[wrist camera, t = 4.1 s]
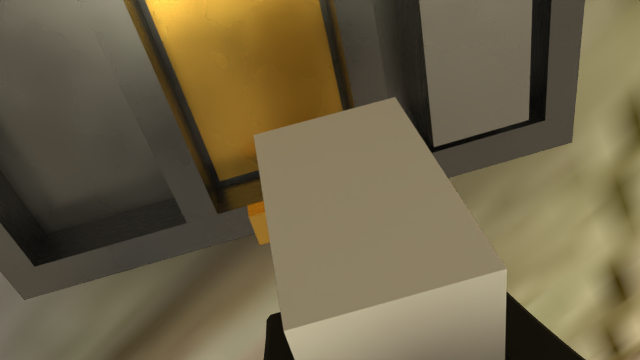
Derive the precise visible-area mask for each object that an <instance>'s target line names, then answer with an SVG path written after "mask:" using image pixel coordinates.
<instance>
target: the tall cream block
mask: <svg viewBox="0 0 640 360" xmlns="http://www.w3.org/2000/svg"><path fill="white" fill-rule="evenodd" d="M254 142H255V148H256V155H257V161H258V168H259V174H260V181H261V187H262V194H263V200H264V207H265V213H266V220H267V226H268V233H269V239H270V246H271V252H272V259H273V265H274V272H275V278H276V285H277V291H278V298H279V304H280V311H281V317H282V324H283V330H284V333H285V336H286V339H287V341H288V344H289V346H290V349H291V352H292V354H293V357H294V359H295V360H505V333H506V288H507V268H506V267H505V265H504V264H503V262H502V261H501V259H500V257H499V256H498V254H497V253H496V251H495V250H494V248H493V247H492V245H491V244H490V242H489V241H488V239H487V237H486V236H485V234H484V233H483V231H482V230H481V228H480V227H479V225H478V224H477V222H476V221H475V219H474V218H473V216H472V214H471V213H470V211H469V210H468V208H467V207H466V205H465V204H464V202H463V201H462V199H461V198H460V196H459V194H458V193H457V191H456V190H455V188H454V187H453V185H452V184H451V182H450V181H449V179H448V178H447V176H446V175H445V173H444V171H443V170H442V168H441V167H440V165H439V164H438V162H437V161H436V159H435V158H434V156H433V155H432V153H431V151H430V150H429V148H428V147H427V145H426V144H425V142H424V141H423V139H422V138H421V136H420V135H419V133H418V132H417V130H416V128H415V127H414V125H413V124H412V122H411V121H410V119H409V118H408V116H407V115H406V113H405V112H404V110H403V108H402V107H401V105H400V104H399V102H398V101H397V99H396V98H395V97H393V98H390V99H386V100H382V101H379V102H375V103H371V104H367V105H364V106H360V107H356V108H352V109H349V110H345V111H341V112H338V113H334V114H330V115H326V116H323V117H319V118H315V119H311V120H308V121H304V122H300V123H297V124H293V125H289V126H285V127H282V128H278V129H274V130H270V131H267V132H263V133H259V134H256V135H254Z"/></svg>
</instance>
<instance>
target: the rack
mask: <svg viewBox="0 0 640 360" xmlns="http://www.w3.org/2000/svg"><path fill="white" fill-rule="evenodd" d="M584 3H585V0H0V272H1V273H2V274H3V275H4V276H5V278H6V279H7V280H8V281H9V282H10V283H11V285H12V286H13V287H14V288H15V289H16V291H17V292H18V293H19V294H20V295H21V297H22V298H23V299H24V300H26V299H29V298H33V297H36V296H40V295H43V294H47V293H50V292H54V291H57V290H61V289H64V288H67V287H71V286H74V285H78V284H81V283H85V282H88V281H92V280H95V279H99V278H102V277H106V276H109V275H113V274H116V273H120V272H123V271H127V270H130V269H133V268H137V267H140V266H144V265H147V264H151V263H154V262H158V261H161V260H165V259H168V258H172V257H175V256H179V255H182V254H186V253H189V252H193V251H196V250H200V249H203V248H206V247H210V246H213V245H217V244H220V243H224V242H227V241H231V240H234V239H238V238H241V237H245V236H248V235H252V234H256V237H257V239H258V242H259V244H260V245H262V244H265V243H269V242H270V239H269V233H268V226H267V220H266V213H265V207H264V200H263V194H262V187H261V181H260V174H259V168H258V161H257V155H256V148H255V142H254V135H256V134H259V133H263V132H267V131H270V130H274V129H278V128H282V127H285V126H289V125H293V124H297V123H300V122H304V121H308V120H311V119H315V118H319V117H323V116H326V115H330V114H334V113H338V112H341V111H345V110H349V109H352V108H356V107H360V106H364V105H367V104H371V103H375V102H379V101H382V100H386V99H390V98H393V97H395V98H396V99H397V101H398V102H399V104H400V105H401V107H402V108H403V110H404V112H405V113H406V115H407V116H408V118H409V119H410V121H411V122H412V124H413V125H414V127H415V128H416V130H417V132H418V133H419V135H420V136H421V138H422V139H423V141H424V142H425V144H426V145H427V147H428V148H429V150H430V151H431V153H432V155H433V156H434V158H435V159H436V161H437V162H438V164H439V165H440V167H441V168H442V170H443V171H444V173H445V175H446V176H447V178H450V177H453V176H457V175H460V174H464V173H467V172H471V171H474V170H477V169H481V168H484V167H488V166H491V165H495V164H498V163H502V162H505V161H509V160H512V159H516V158H519V157H523V156H526V155H530V154H533V153H537V152H540V151H544V150H547V149H550V148H554V147H557V146H561V145H564V144H568V143H571V142H572V136H573V125H574V114H575V103H576V92H577V80H578V69H579V58H580V47H581V36H582V25H583V14H584Z"/></svg>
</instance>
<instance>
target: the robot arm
mask: <svg viewBox="0 0 640 360" xmlns="http://www.w3.org/2000/svg"><path fill="white" fill-rule="evenodd" d="M264 360H295V359H294V357H293V354H292V352H291V349H290V346H289V344H288V341H287V339H286V336H285V333H284V330H283V324H282V317H281V312H279V313H275V314H272V315H270V316H269V318H268V319H267V325H266V342H265V353H264ZM505 360H585V359H584V358H583V357H581V356H580V355H579V354H578V353H576V352H575V351H574V350H573V349H571V348H570V347H569V346H568V345H567V344H565V343H564V342H563V341H562V340H561V339H559V338H558V337H557V336H556V335H555V334H554V333H552V332H551V331H550V330H549V329H548V328H547V327H545V326H544V325H543V324H542V323H541V322H540V321H538V320H537V319H536V318H535V317H534V316H533V315H532V314H530V313H529V312H528V311H527V310H526V309H525V308H524V307H523V306H522V305H521V304H520V303H518V302H517V301H516V300H515V299H514V298H513V297H512V296H511V295H510V294H509V293H508V292H507V291H506V333H505Z"/></svg>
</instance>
